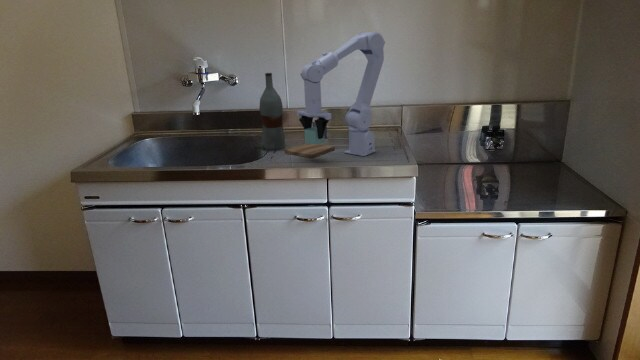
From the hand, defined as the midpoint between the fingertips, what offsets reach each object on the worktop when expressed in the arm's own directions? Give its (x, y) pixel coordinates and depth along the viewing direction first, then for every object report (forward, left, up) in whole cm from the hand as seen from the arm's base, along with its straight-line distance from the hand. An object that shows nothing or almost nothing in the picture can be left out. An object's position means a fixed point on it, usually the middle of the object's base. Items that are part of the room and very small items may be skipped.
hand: (314, 137), depth 160 cm
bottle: (+27, -5, -9) cm, 28 cm away
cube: (0, 0, -2) cm, 2 cm away
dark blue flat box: (+19, -25, -9) cm, 32 cm away
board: (+10, -8, -8) cm, 15 cm away
